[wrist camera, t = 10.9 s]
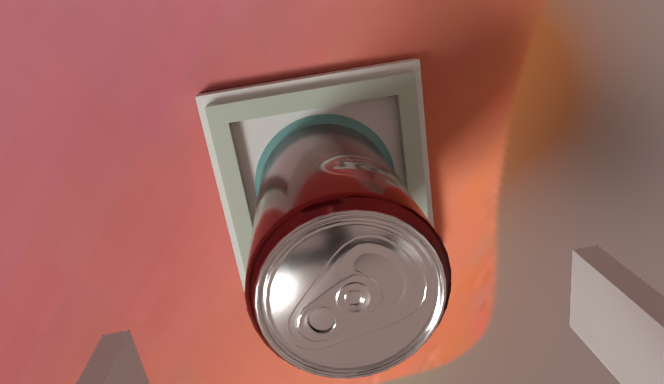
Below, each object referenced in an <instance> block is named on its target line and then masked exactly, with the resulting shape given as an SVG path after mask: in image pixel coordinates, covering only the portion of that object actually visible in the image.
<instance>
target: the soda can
mask: <svg viewBox="0 0 664 384" xmlns="http://www.w3.org/2000/svg"><path fill="white" fill-rule="evenodd" d="M450 292H451V267H450V262H449V257H448V253H447V251H446V248H445V246H444V244H443V242H442V240H441V238H440V236H439V235H438V233H437V232H436V230H435V229H434V227H433V226H432V224H431V223H430V222H429V220H428V219H427V217H426V216H425V214H424V213H423V211H422V210H421V209H420V207H419V206H418V204H417V203H416V201H415V200H414V199H413V197H412V196H411V194H410V193H409V191H408V190H407V188H406V187H405V186H404V184H403V183H402V181H401V180H400V178H399V177H398V175H397V174H396V173H395V171H394V170H393V168H392V167H391V165H390V164H389V162H388V161H387V160H386V158H385V157H384V155H383V154H382V152H381V151H380V150H379V149H378V147H377V146H376V145H375V144H374V143H373V142H372V141H371V140H370V139H369V138H367V137H366V136H365V135H363V134H362V133H360V132H358V131H356V130H354V129H352V128H349V127H345V126H342V125H336V124H318V125H312V126H308V127H305V128H302V129H299V130H297V131H296V132H294V133H292V134H290V135H288V136H287V137H286V138H285V139H283V140H282V141H281V142H280V143H279V144H278V145H277V146H276V147H275V148H274V150H273V151H272V152H271V153H270V155H269V157H268V159H267V161H266V162H265V164H264V167H263V171H262V174H261V178H260V185H259V191H258V198H257V205H256V211H255V218H254V224H253V231H252V237H251V244H250V251H249V257H248V264H247V270H246V279H245V300H246V306H247V312H248V314H249V317H250V319H251V321H252V324H253V326H254V328H255V330H256V332H257V333H258V334H259V336H260V337H261V339H262V340H263V342H264V343H265V344H266V345H267V346H268V347H269V348H270V349H271V350H272V351H273V352H274V353H275V354H276V355H277V356H278V357H280V358H281V359H283V360H285V361H286V362H288V363H289V364H291V365H293V366H295V367H297V368H299V369H301V370H304V371H306V372H309V373H312V374H314V375H319V376H324V377H329V378H346V379H350V378H358V377H366V376H370V375H373V374H377V373H380V372H383V371H386V370H388V369H390V368H392V367H394V366H396V365H398V364H400V363H401V362H403V361H404V360H406V359H407V358H409V357H410V356H412V355H413V354H414V353H415V352H416V351H417V350H418V349H419V348H420V347H421V346H422V345H424V344H425V343H426V342H427V340H428V339H429V338H430V336H431V335H432V333H433V332H434V331H435V329H436V328H437V326H438V325H439V324H440V322H441V319H442V317H443V315H444V313H445V311H446V308H447V305H448V300H449V296H450Z"/></svg>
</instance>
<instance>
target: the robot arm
mask: <svg viewBox="0 0 664 384" xmlns="http://www.w3.org/2000/svg"><path fill="white" fill-rule="evenodd" d="M570 327H571V328H572V329H573V330H574V331H575V333H576V334H577V335H578V336H579V337H580V338H581V339H582V340H583V342H584V343H585V344H586V345H587V346H588V347H589V348H590V349H591V351H593V353H594V354H595V355H596V356H597V357H598V358H599V360H600V361H601V362H602V363H603V364H604V365H605V366H606V368H607V369H608V370H609V371H610V372H611V373H612V374H613V375H614V377H615V378H616V379H617V380H618V381H619V382H620V383H621V384H664V296H663V295H661V294H660V293H659V292H658V291H656V290H655V289H654V288H652V287H651V286H650V285H649V284H647V283H646V282H645V281H643V280H642V279H641V278H640V277H638V276H637V275H636V274H634V273H633V272H632V271H630V270H629V269H628V268H627V267H625V266H624V265H623V264H621V263H620V262H619V261H617V260H616V259H615V258H614V257H612V256H611V255H610V254H608V253H607V252H606V251H604V250H603V249H602V248H601V247H599V246H598V245H597V246H591V247H586V248H580V249H575V250H573V256H572V282H571V305H570ZM76 384H149V381H148V378H147V376H146V373H145V370H144V368H143V365H142V362H141V360H140V357H139V354H138V352H137V349H136V346H135V344H134V341H133V338H132V336H131V333H130V330H128V331H122V332H117V333H111V334H106V335H103V336H102V337H101V339H100V341H99V343H98V345H97V347H96V348H95V350H94V352H93V354H92V356H91V358H90V360H89V361H88V363H87V365H86V367H85V369H84V371H83V372H82V374H81V376H80V378H79V380H78V382H77V383H76Z"/></svg>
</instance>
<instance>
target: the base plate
mask: <svg viewBox="0 0 664 384" xmlns="http://www.w3.org/2000/svg"><path fill="white" fill-rule="evenodd" d="M195 98H196V102H197V106H198V110H199V114H200V118H201V122H202V126H203V130H204V134H205V138H206V142H207V146H208V150H209V154H210V158H211V162H212V166H213V170H214V174H215V178H216V182H217V186H218V190H219V194H220V198H221V202H222V206H223V210H224V214H225V218H226V222H227V226H228V230H229V234H230V238H231V242H232V246H233V250H234V254H235V258H236V262H237V266H238V270H239V274H240V278H241V282H242V286H243V290H244V292H245V279H246V270H247V264H248V257H249V251H250V244H251V237H252V231H253V224H254V218H255V211H256V205H257V198H258V191H259V185H260V178H261V174H262V171H263V167H264V164H265V162H266V161H267V159H268V157H269V155H270V153H271V152H272V151H273V150H274V148H275V147H276V146H277V145H278V144H279V143H280V142H281V141H282V140H283V139H285V138H286V137H287V136H288V135H290V134H292V133H294V132H296V131H297V130H299V129H302V128H305V127H308V126H312V125H318V124H336V125H342V126H345V127H349V128H352V129H354V130H356V131H358V132H360V133H362V134H363V135H365V136H366V137H367V138H369V139H370V140H371V141H372V142H373V143H374V144H375V145H376V146H377V147H378V149H379V150H380V151H381V152H382V154H383V155H384V157H385V158H386V160H387V161H388V162H389V164H390V165H391V167H392V168H393V170H394V171H395V173H396V174H397V175H398V177H399V178H400V180H401V181H402V183H403V184H404V186H405V187H406V188H407V190H408V191H409V193H410V194H411V196H412V197H413V199H414V200H415V201H416V203H417V204H418V206H419V207H420V209H421V210H422V211H423V213H424V214H425V216H426V217H427V219H428V220H429V222H430V223H431V224H432V226H433V227H434V221H433V209H432V197H431V185H430V173H429V161H428V150H427V138H426V126H425V114H424V102H423V90H422V78H421V67H420V59H417V58H411V59H405V60H399V61H393V62H387V63H381V64H375V65H369V66H363V67H357V68H351V69H345V70H339V71H332V72H326V73H320V74H314V75H308V76H302V77H296V78H290V79H284V80H278V81H272V82H266V83H260V84H254V85H248V86H242V87H236V88H230V89H224V90H218V91H212V92H206V93H200V94H198V95H196V96H195Z"/></svg>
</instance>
